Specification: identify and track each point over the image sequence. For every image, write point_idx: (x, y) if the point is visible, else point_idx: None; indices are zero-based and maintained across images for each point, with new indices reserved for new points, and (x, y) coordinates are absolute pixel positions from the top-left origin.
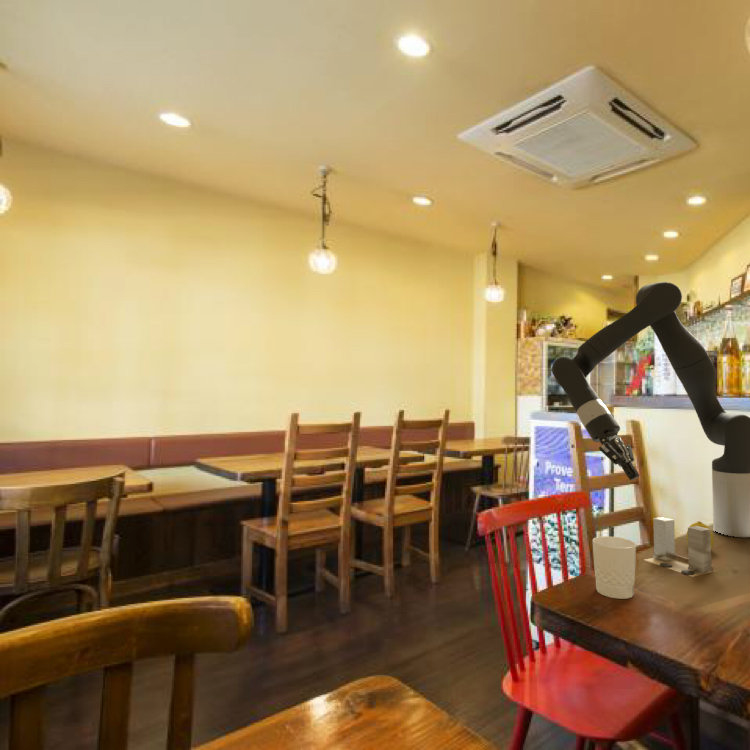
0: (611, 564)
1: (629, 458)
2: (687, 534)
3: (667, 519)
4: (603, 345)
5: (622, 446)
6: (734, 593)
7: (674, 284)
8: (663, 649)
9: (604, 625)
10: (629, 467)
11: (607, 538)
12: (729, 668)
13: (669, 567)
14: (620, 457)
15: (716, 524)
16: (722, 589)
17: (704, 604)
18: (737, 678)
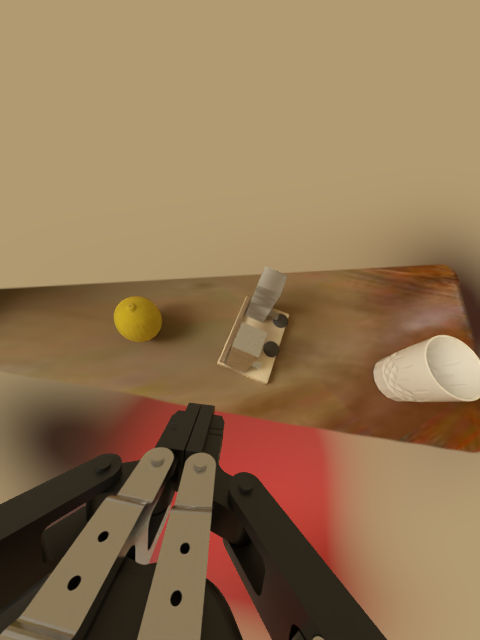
0: (451, 366)
1: (148, 472)
2: (146, 335)
3: (249, 332)
4: None
5: (100, 592)
6: (287, 279)
7: None
8: (456, 308)
9: None
10: (211, 442)
11: (438, 386)
12: (437, 271)
13: (275, 343)
14: (269, 493)
15: None
16: (284, 289)
17: (342, 298)
18: (445, 266)
